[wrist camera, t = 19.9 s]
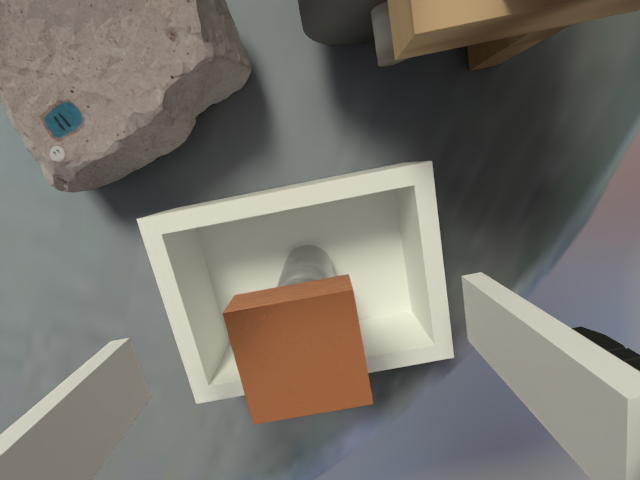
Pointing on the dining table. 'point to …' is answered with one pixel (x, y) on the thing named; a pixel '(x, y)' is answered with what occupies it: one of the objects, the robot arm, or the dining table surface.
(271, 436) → the dining table surface
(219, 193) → the dining table surface
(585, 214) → the dining table surface
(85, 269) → the dining table surface
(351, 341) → the pin
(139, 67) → the stone
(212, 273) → the tray
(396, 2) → the trolley
